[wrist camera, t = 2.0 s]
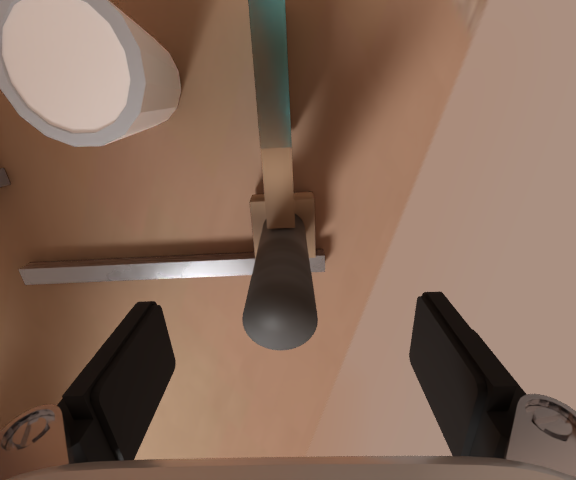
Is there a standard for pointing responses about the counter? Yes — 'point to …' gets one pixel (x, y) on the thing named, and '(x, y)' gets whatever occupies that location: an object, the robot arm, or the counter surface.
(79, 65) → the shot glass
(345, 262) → the counter surface
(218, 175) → the counter surface
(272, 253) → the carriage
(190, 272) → the rail
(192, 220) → the counter surface
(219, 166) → the counter surface
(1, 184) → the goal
